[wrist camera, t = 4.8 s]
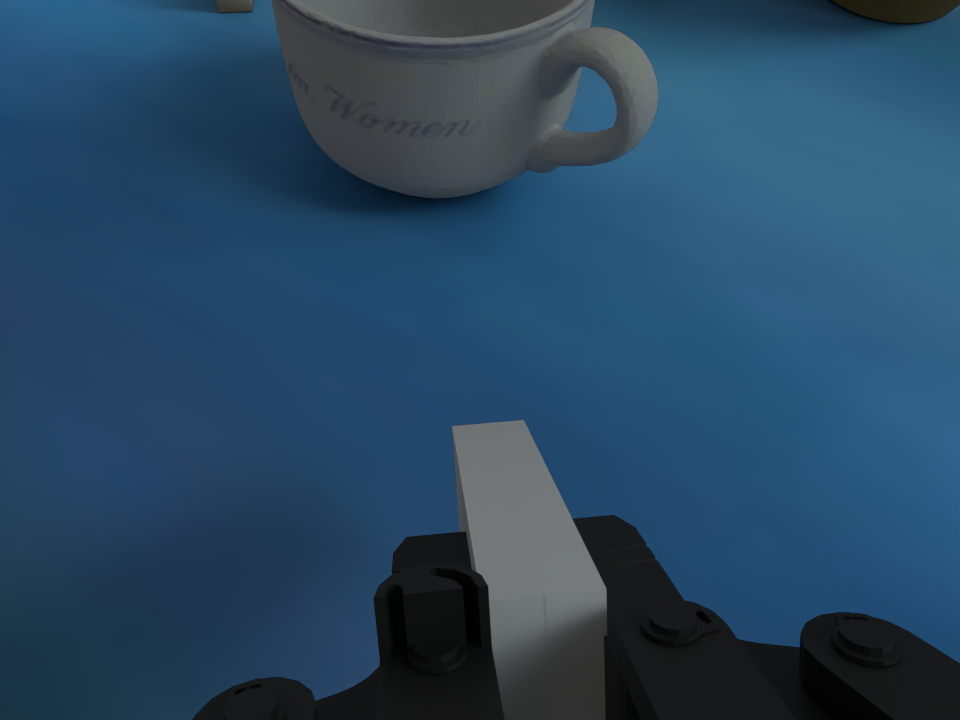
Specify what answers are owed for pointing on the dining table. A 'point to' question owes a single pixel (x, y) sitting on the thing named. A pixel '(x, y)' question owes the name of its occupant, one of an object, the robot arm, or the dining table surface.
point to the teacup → (458, 88)
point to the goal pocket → (234, 5)
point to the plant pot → (900, 9)
